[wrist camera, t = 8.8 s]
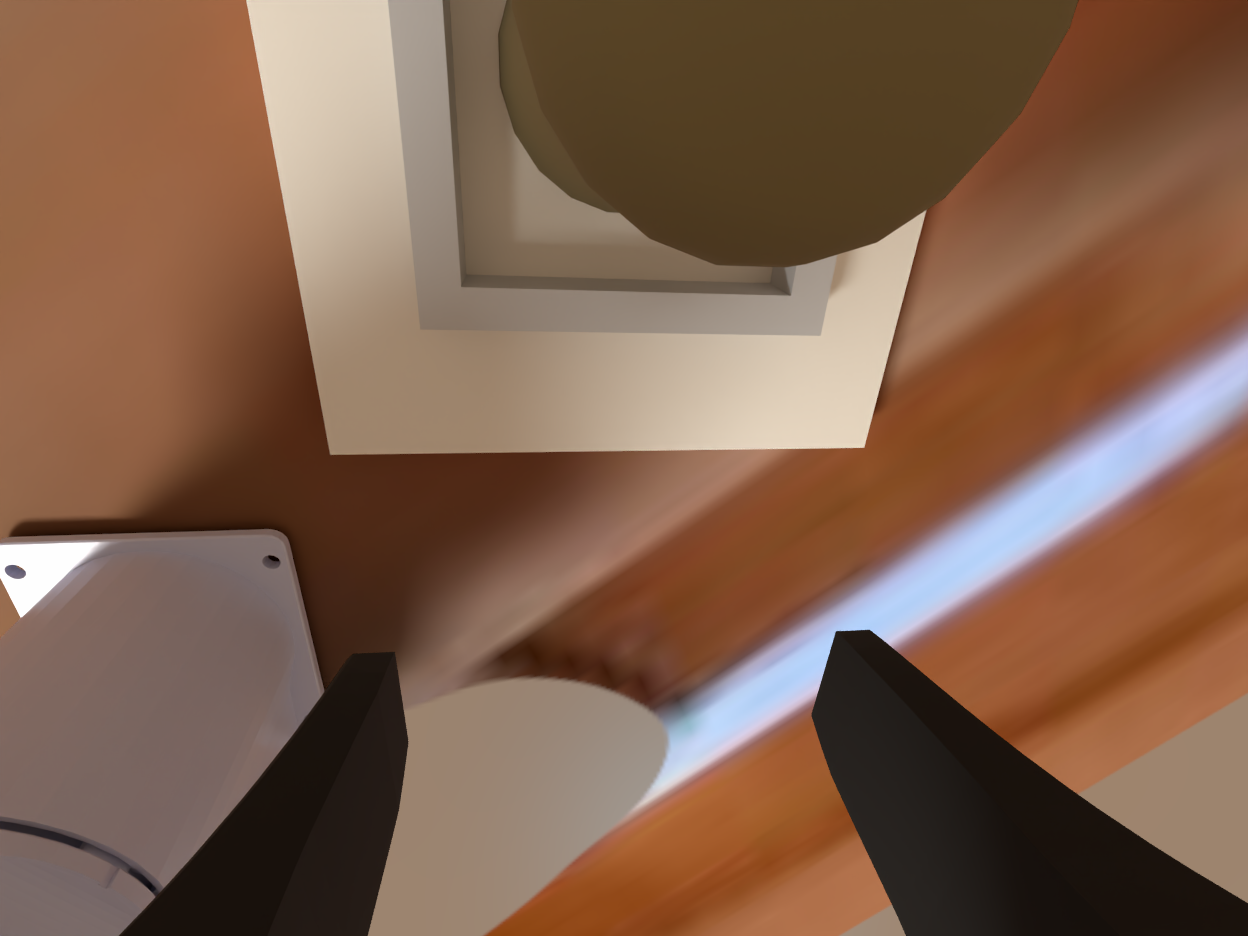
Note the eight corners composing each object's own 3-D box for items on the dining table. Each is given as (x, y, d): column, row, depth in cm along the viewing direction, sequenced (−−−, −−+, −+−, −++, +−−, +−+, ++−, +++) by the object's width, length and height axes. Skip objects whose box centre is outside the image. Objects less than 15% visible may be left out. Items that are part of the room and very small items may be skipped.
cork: (763, -117, 13) (1484, -876, 3) (761, 198, 16) (1136, 298, 6) (469, -92, 12) (284, -886, 3) (524, 229, 15) (526, 388, 6)
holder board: (847, 431, 21) (888, 470, 18) (341, 436, 18) (314, 481, 16) (1047, -389, 12) (1170, -513, 10) (166, -581, 10) (55, -802, 8)
